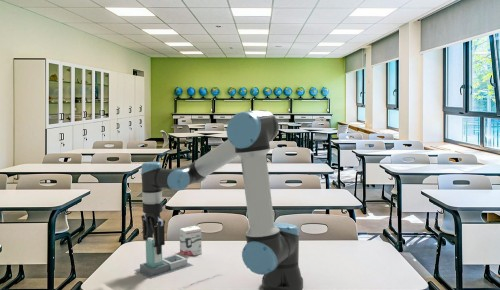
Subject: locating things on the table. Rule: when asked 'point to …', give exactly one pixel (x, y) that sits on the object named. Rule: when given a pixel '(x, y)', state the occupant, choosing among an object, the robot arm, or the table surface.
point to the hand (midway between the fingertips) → (154, 260)
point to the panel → (164, 266)
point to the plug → (151, 254)
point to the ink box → (190, 241)
